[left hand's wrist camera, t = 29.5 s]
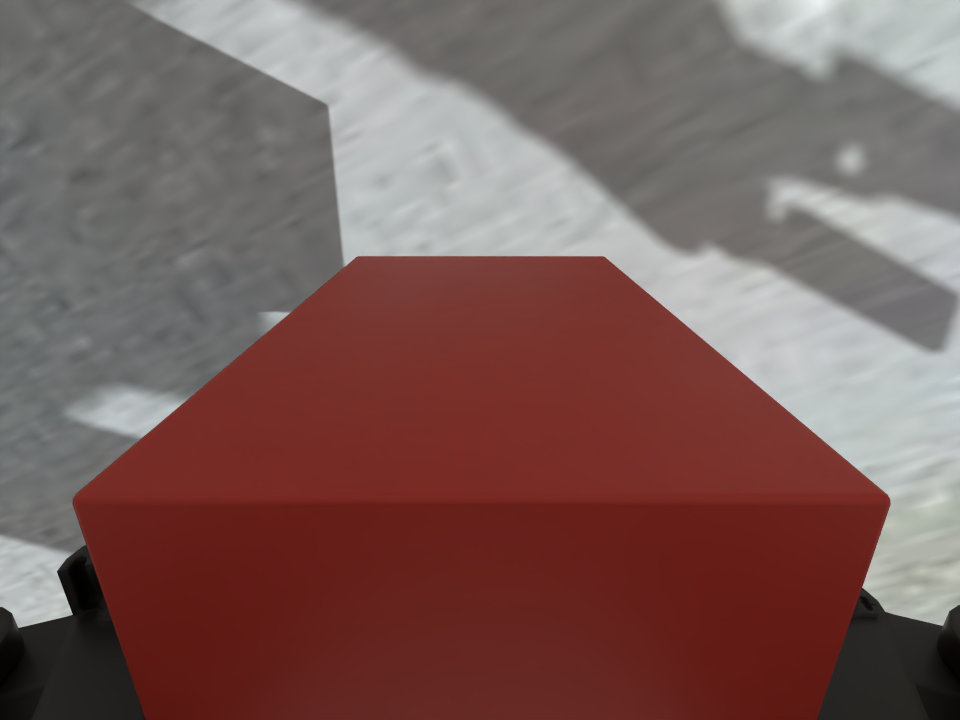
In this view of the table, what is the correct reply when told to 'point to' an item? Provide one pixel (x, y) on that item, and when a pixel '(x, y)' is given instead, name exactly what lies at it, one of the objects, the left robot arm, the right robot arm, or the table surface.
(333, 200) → the table surface
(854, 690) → the left robot arm
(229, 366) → the brick
